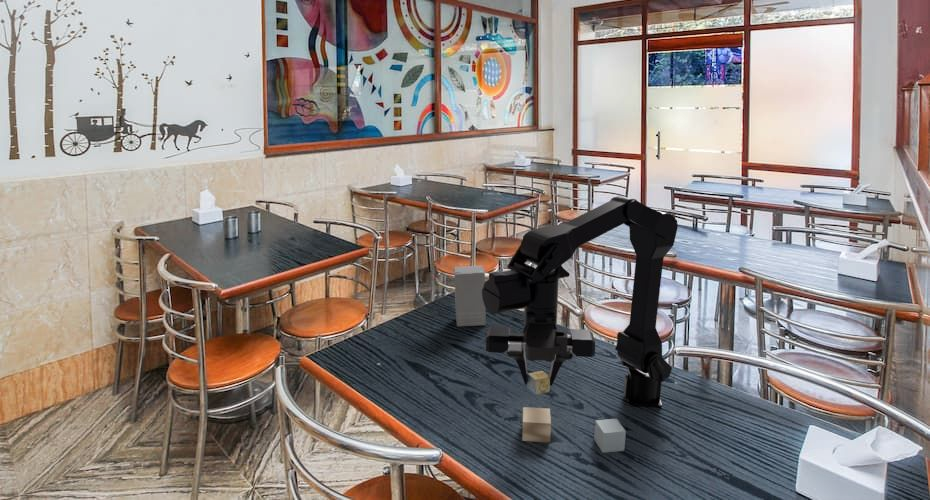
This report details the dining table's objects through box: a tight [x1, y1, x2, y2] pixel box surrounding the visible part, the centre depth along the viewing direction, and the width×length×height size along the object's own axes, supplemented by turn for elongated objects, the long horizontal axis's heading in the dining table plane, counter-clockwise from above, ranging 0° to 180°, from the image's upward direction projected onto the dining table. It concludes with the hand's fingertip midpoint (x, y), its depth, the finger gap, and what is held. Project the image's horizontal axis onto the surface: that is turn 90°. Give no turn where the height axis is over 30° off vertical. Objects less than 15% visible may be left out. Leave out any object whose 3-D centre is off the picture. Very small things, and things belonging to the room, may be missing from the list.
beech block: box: [521, 406, 552, 443], centre depth 102 cm, size 5×5×4 cm
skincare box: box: [453, 265, 487, 327], centre depth 151 cm, size 8×7×16 cm
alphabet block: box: [526, 370, 551, 395], centre depth 99 cm, size 3×3×3 cm
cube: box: [593, 418, 627, 454], centre depth 98 cm, size 4×4×4 cm
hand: (538, 384), depth 100 cm, fingers closed on alphabet block, 4 cm apart
